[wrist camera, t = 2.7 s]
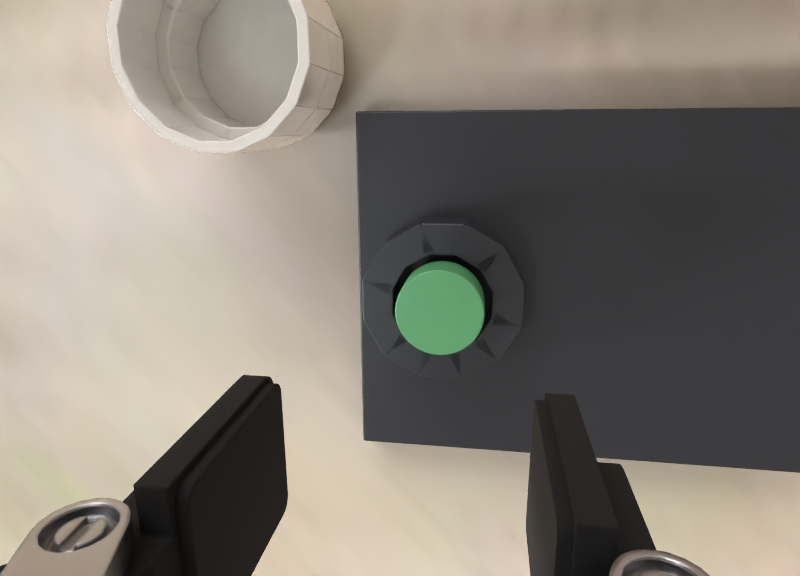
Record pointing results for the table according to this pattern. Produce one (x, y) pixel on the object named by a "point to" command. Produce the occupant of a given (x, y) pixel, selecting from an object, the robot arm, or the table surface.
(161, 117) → the bowl
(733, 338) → the scale
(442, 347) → the button
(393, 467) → the table surface
